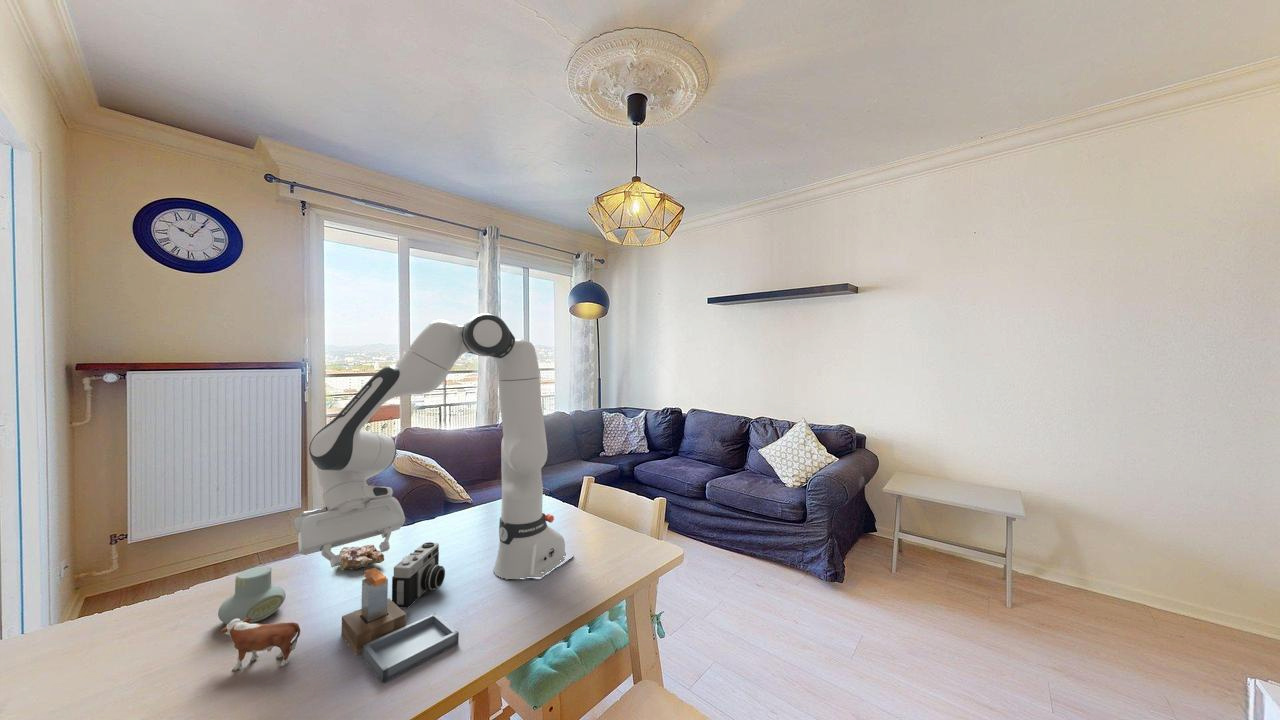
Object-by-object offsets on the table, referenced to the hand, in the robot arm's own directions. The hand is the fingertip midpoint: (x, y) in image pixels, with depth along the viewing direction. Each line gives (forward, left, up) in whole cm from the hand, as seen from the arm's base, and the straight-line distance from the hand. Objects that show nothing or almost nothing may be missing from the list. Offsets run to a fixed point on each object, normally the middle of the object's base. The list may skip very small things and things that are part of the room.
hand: (361, 557), depth 93 cm
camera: (-14, -1, -14) cm, 20 cm away
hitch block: (0, +8, -14) cm, 16 cm away
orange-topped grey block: (0, +8, -14) cm, 16 cm away
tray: (-3, +19, -14) cm, 23 cm away
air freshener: (+15, -18, -14) cm, 27 cm away
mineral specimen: (-9, -27, -14) cm, 31 cm away
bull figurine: (+17, +1, -14) cm, 22 cm away
